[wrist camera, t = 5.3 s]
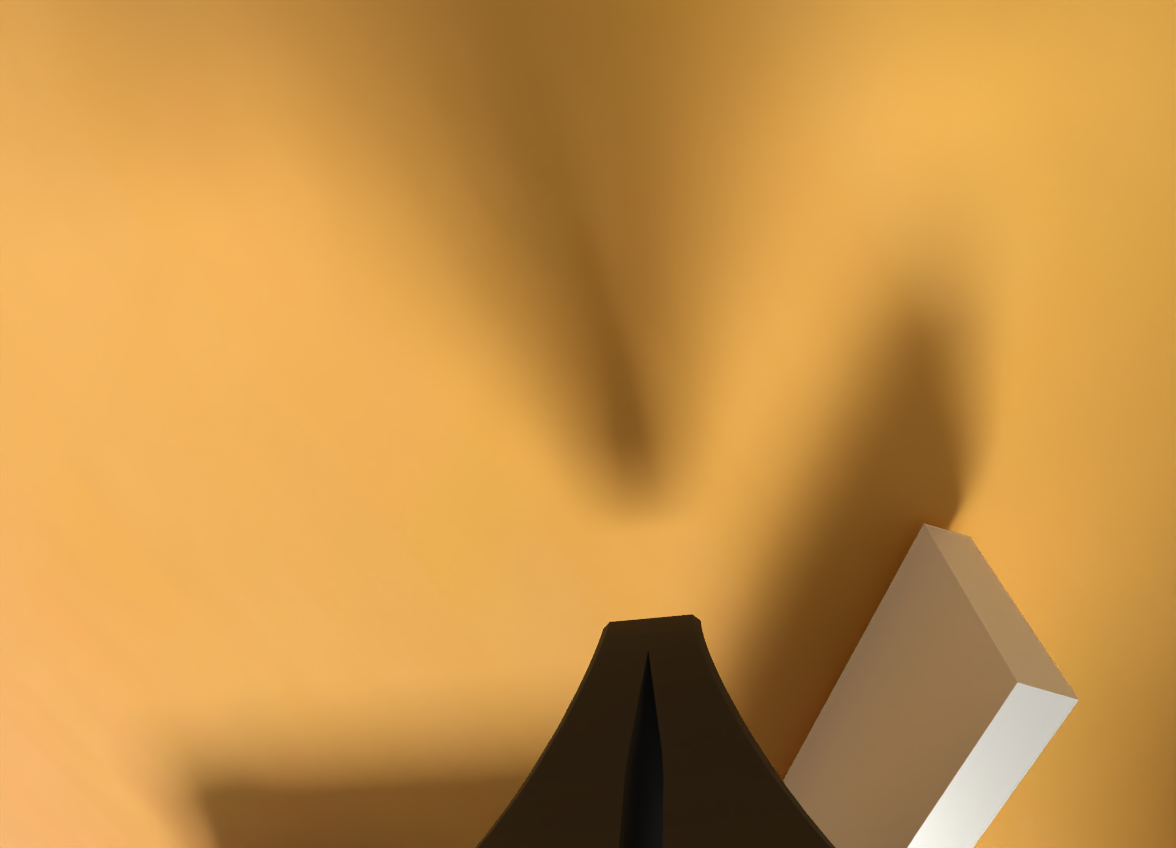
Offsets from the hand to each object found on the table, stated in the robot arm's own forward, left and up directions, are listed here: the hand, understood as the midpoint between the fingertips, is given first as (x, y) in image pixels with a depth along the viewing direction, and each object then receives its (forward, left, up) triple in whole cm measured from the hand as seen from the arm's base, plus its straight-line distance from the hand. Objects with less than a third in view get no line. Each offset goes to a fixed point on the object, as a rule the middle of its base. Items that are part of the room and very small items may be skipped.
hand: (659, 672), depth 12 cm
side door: (-3, +3, -2) cm, 5 cm away
